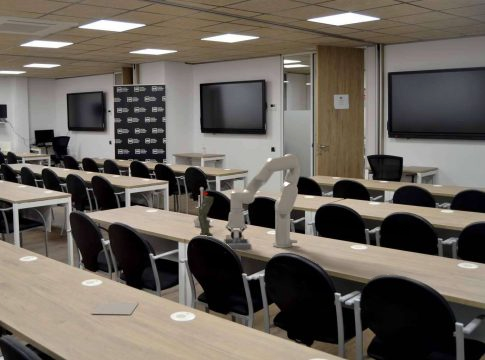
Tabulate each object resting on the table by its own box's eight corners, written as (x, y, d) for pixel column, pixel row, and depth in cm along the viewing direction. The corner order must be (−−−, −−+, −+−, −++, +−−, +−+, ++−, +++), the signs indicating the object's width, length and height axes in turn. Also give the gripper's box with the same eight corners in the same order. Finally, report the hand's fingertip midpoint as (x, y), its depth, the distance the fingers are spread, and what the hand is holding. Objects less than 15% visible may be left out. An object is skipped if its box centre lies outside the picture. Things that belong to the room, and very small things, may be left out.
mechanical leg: (200, 239, 355) (206, 195, 357) (192, 237, 359) (198, 194, 361) (213, 240, 366) (219, 197, 368) (205, 238, 370) (211, 196, 372)
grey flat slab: (124, 324, 210) (124, 323, 210) (63, 323, 211) (63, 321, 211) (138, 304, 233) (138, 302, 233) (83, 303, 234) (83, 301, 234)
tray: (247, 243, 347) (247, 238, 346) (249, 249, 331) (249, 244, 330) (223, 243, 346) (223, 239, 345) (224, 249, 330) (224, 244, 329)
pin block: (243, 238, 361) (243, 234, 361) (244, 242, 349) (244, 238, 349) (226, 238, 361) (226, 234, 360) (226, 242, 349) (226, 238, 348)
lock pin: (239, 241, 340) (239, 229, 339) (239, 243, 336) (239, 231, 335) (232, 241, 340) (232, 229, 339) (233, 243, 335) (233, 231, 335)
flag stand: (196, 227, 396) (195, 188, 392) (191, 224, 408) (191, 186, 404) (212, 226, 400) (212, 187, 397) (207, 223, 412) (207, 185, 409)
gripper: (249, 209, 340) (248, 237, 342) (223, 209, 339) (223, 237, 341) (249, 211, 332) (249, 239, 334) (223, 211, 331) (223, 239, 333)
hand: (236, 238), depth 337 cm, fingers closed on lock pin, 4 cm apart
